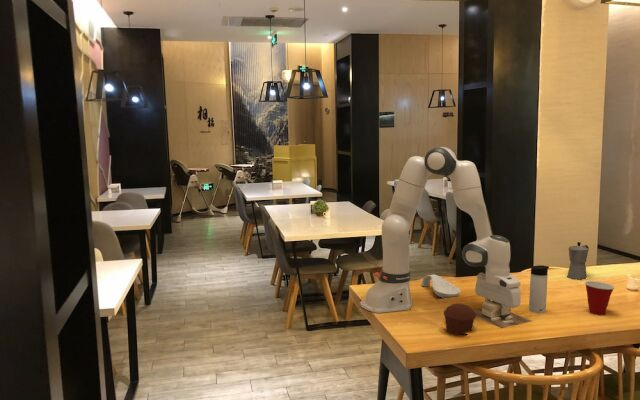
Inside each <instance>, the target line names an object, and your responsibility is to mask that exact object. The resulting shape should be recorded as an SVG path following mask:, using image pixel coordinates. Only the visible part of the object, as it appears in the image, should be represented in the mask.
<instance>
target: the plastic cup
mask: <svg viewBox="0 0 640 400" xmlns="http://www.w3.org/2000/svg"><path fill="white" fill-rule="evenodd" d="M584 284H585V289H586V290H585V291H586V296H587V304H588V311H589V313H590V314H593V315H596V314H597V315H598V316H603V315H605V314H606V313H607V309H608V306H609V303H610V299H611V296H612V292H613V290H614V289H616V288H615V286H614V285H612V284H609V283H606V282H601V281H594V280H586V281H584Z"/></svg>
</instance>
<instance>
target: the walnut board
mask: <svg viewBox="0 0 640 400" xmlns="http://www.w3.org/2000/svg"><path fill="white" fill-rule="evenodd" d="M472 310H473V311H474V312H475V314H476V318H477V319H479V320H480V321H484V322H485V323H488V324H491V325H493V326H495V327H497V328H500V329H505V328H509V327H513V326H518V325H521V324H526V323H530V322H533V320H531V319H529V318H526V317H523V316H521V315H519V314H517V313H513V312H511V313H510V316H513V318H511V319H510V320H513V321H514V323H506V324H504V323H503V321H508V320H505V318H506V317H508V316H509V315H508V316H503V317H501V319H499V320H494V321H492V320H491V319H490V318H487V317H485V316H482V307H480V308H475V309H472ZM476 318H475V319H476Z"/></svg>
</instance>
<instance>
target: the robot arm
mask: <svg viewBox="0 0 640 400" xmlns="http://www.w3.org/2000/svg"><path fill="white" fill-rule="evenodd" d="M431 175H436V176H442V177H448V178H449V180H450V182H451V188H452V195H453V200H454V203H455V205H456V207H457V208H458V209H459V210H461V211H463V212H464V213H466V214H468V215H469V216H470V217H471V218H472V221H473V226H474V229H475V230H474V231H475V234H476V240H475V241H472V242H469V243H467V244H466V245H464V247H463V248H462V251H461V255H462V259H463V261H464V263H465V264H466V265H468V266H470V267H474V268H477V267H478V268H479V267H484V268H485V273H484V272H479V273H477V276H476V281H475V288H474V292H475V294H476V295H477V296H479V297H481V298H484V302H489V301H495V302H498V303H500V304H502V307H503V308H502V310H500V313H499V314H501V315H505V314H506V310H507V308H508V307H511V309H514V308H515V309H516V308H519V306H521V301H522V300H521V299H522V298H521V297H522V296H521V294H522V293H521V288H520V286H521V281H520V280H519V279H518V278H516V277H515V276H514V275H513V274H511V272H510V271H511V269H510V261H511V244H510V240H509V239H508V238H506V237H505V236H502V235H500V234H499V235H498V234H494V232H493V230H492V225H491V221H490V216H489V213H488V212H489V211H488V209H487V205H486V203H485V200H484V194H483V190H482V184H481V179H480V174H479V172H478V169H477V166H476V164H475V163H474V162H472V161H470V160H459V159H458V155H457V153H456V152H455V151H454V150H453V149H452V148H449V147H446V146H438V147H433V148H431V149H429V150H428V151H427V152H426V154H425V156H424V157H423V156H419V155H414V156H411V157H409V158H408V159H407V160H406V163H405V164H404V166H403V168H402V171H401V173H400V175H399V178H398V180H397V184H396V187H395V190H394V193H393V195H392V199H391V203H390V206H389V208H388V212H387V214H386V217H385V218H384V221H383V222H382V224H381V243H382V244H381V246H382V270H381V272H377V271H376V272H374V277H377V278H378V280H377V281H376V282H375V283H374V284H373V285H372V286H371V287H370V288H369V289H367V291H366V293H365V299H364V300H362V301H360V302H359V306H360V307H361V308H363V309H365V310H366V311H369V312H372V313H376V314H380V313H382V314H383V313H389V312H391V313H392V312H400V311H408V310H411V307H412V306H413V301H412V296H411V289H410V281H411V271H410V240H409V239H410V238H409V237H410V236H409V234H410V231H411V227H412V225H413V221H414V219H415V215H416V213H417V211H418V207H419V204H420V202H421V200H422V196H423V193H424V191H425V187H426V185H427V182H428V179H429V178H430V176H431Z"/></svg>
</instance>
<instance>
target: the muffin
mask: <svg viewBox="0 0 640 400" xmlns="http://www.w3.org/2000/svg"><path fill="white" fill-rule="evenodd" d="M473 310H474V309H472V308H471V307H469V306H468V304H465V303H464V304H463V303H452V304H450V305H448V306H447V307H446V308H445V309H444V311H443V315H444V318H445V326H446V332H447V333H449V334H450V335H455V336H458V337H459V336H460V337H461V336H462V337H463V336H465V337H466V336H469V334H467V333H468V332H470V331H472V330H473V327H474V326H473V324H474V320H475V319H476V314H475V312H474V311H473Z"/></svg>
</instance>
